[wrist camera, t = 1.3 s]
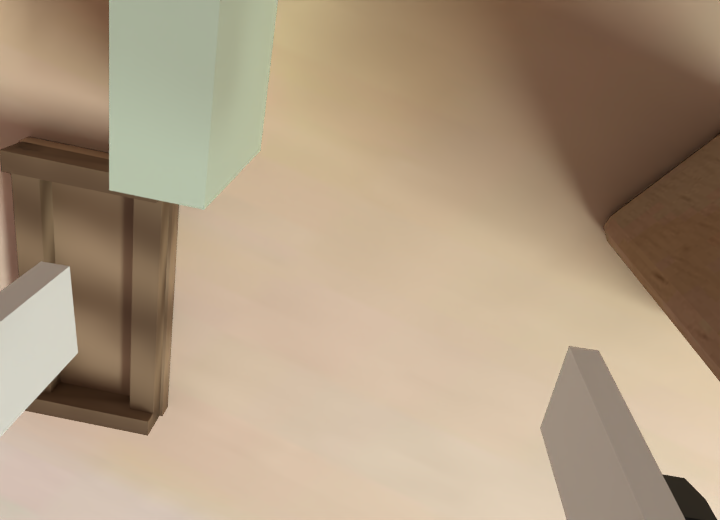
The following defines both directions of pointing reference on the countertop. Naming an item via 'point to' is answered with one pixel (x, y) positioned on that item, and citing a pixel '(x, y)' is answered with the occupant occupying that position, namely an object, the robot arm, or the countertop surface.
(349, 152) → the countertop surface
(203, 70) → the rectangular block
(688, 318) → the wooden block
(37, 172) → the track
